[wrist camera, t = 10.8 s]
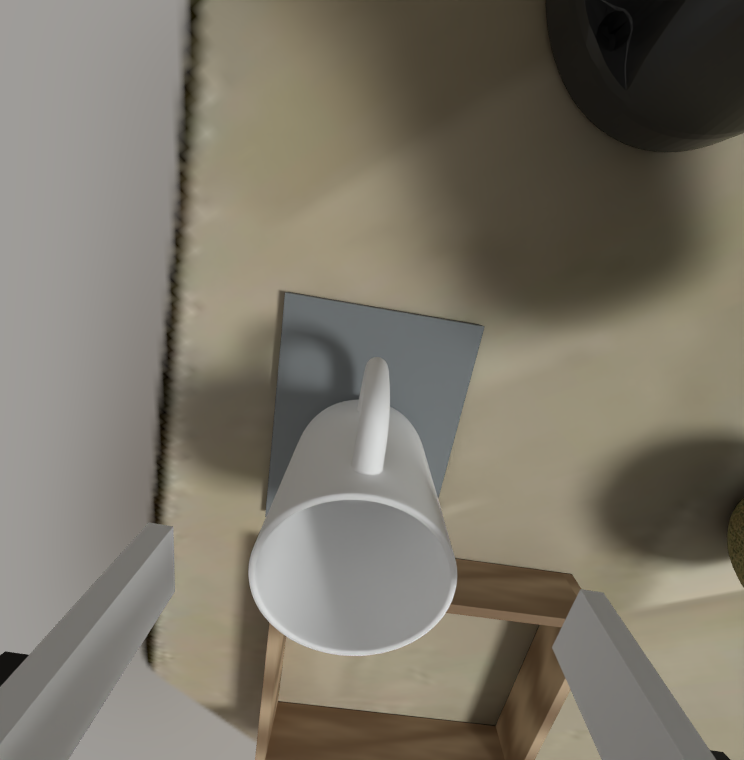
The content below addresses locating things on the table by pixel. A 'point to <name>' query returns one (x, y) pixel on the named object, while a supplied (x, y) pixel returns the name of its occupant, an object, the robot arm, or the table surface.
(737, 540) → the fruit
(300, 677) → the table surface
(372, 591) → the cup
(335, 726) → the frame
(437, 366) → the mat
